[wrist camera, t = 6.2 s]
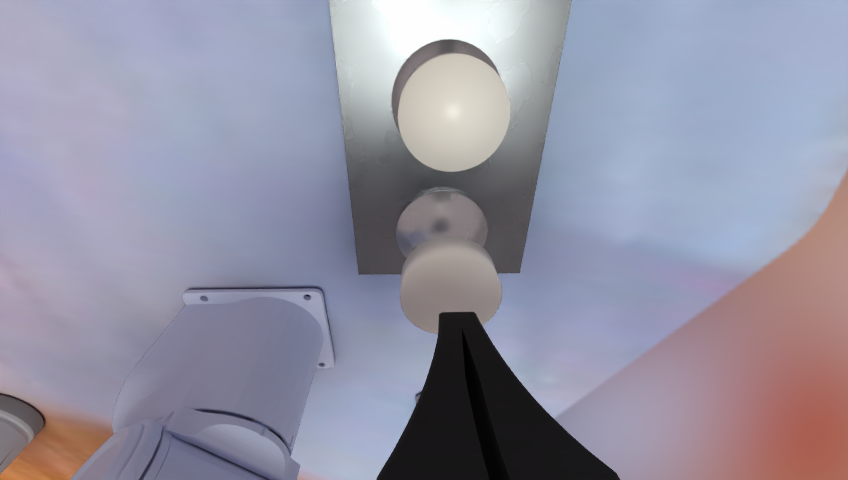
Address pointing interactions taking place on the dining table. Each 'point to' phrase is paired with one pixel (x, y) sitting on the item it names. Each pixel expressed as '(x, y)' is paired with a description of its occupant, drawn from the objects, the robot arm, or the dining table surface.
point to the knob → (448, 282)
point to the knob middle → (453, 112)
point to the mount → (385, 149)
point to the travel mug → (16, 428)
